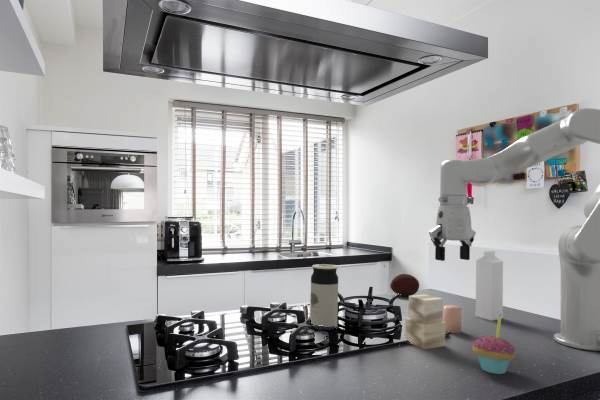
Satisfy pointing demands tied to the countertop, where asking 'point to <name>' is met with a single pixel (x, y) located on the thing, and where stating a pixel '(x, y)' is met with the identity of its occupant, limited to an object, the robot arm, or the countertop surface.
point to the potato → (405, 285)
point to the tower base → (425, 334)
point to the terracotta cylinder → (452, 318)
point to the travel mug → (324, 295)
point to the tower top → (425, 309)
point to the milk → (489, 287)
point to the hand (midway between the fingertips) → (452, 259)
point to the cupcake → (494, 352)
